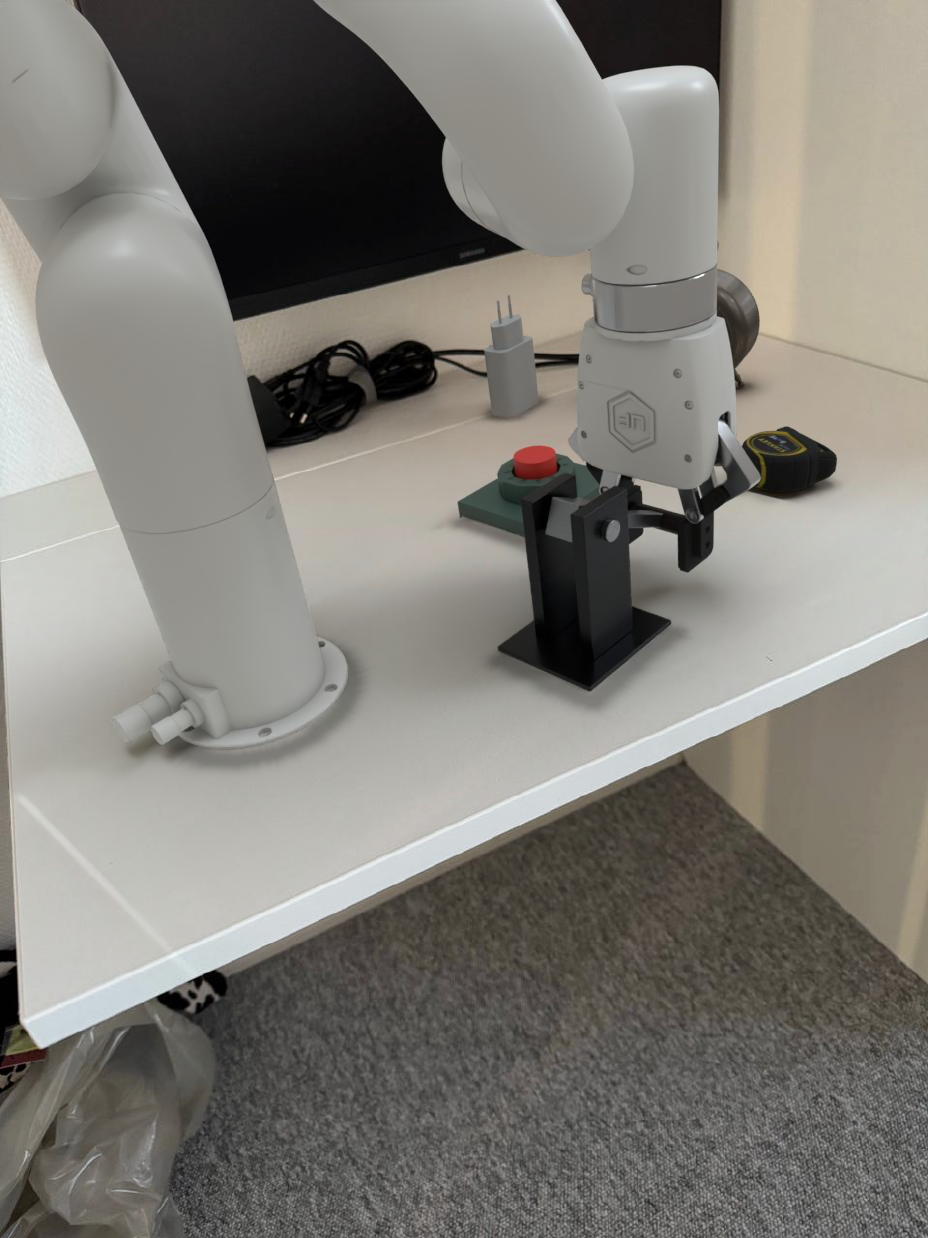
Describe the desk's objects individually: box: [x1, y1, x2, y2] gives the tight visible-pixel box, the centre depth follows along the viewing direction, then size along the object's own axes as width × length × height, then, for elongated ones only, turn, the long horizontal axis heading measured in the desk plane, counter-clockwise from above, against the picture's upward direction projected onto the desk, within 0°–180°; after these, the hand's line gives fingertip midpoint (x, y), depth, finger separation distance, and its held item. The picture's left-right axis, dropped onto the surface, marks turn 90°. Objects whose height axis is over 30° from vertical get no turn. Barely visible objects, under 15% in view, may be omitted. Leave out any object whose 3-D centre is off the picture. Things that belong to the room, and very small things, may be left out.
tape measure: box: [741, 426, 838, 493], centre depth 80 cm, size 7×7×4 cm
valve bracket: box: [497, 473, 672, 692], centre depth 62 cm, size 9×8×12 cm
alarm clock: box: [717, 241, 761, 389], centre depth 97 cm, size 11×5×16 cm, turn 58°
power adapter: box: [483, 294, 539, 419], centre depth 100 cm, size 3×5×12 cm, turn 140°
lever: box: [545, 497, 685, 543], centre depth 63 cm, size 12×5×2 cm, turn 136°
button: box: [512, 445, 557, 480], centre depth 80 cm, size 4×4×2 cm
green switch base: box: [457, 453, 600, 538], centre depth 82 cm, size 11×9×4 cm
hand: (660, 550), depth 68 cm, fingers closed on lever, 5 cm apart
